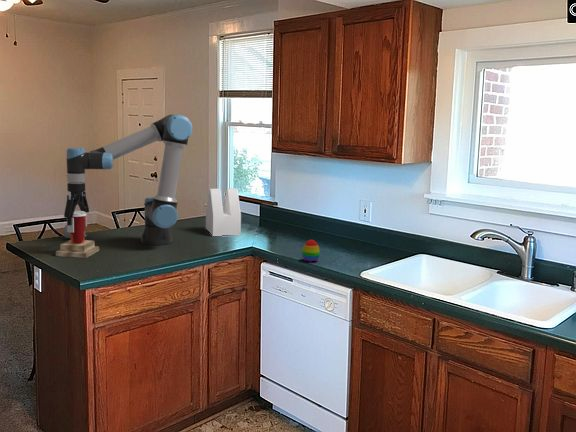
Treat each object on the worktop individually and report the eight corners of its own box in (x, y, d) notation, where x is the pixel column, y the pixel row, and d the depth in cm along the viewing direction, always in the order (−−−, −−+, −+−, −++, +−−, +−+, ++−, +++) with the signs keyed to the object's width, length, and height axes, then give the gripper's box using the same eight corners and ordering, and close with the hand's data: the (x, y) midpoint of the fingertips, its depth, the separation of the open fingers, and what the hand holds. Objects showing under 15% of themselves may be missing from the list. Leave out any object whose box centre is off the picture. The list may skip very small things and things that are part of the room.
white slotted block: (240, 236, 308) (241, 191, 304) (212, 237, 303) (213, 191, 299) (231, 229, 326) (232, 186, 322) (205, 229, 321) (206, 186, 316)
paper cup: (90, 242, 257) (90, 212, 255) (77, 245, 250) (77, 214, 248) (77, 239, 260) (77, 210, 258) (64, 242, 254) (64, 212, 251)
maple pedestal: (99, 250, 262) (98, 240, 261) (86, 257, 249) (86, 246, 248) (70, 248, 263) (69, 238, 262) (55, 256, 249) (55, 245, 249)
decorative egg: (321, 263, 257) (322, 241, 255) (304, 263, 255) (305, 241, 253) (316, 258, 265) (317, 237, 263) (299, 258, 263) (300, 237, 261)
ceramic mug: (75, 241, 279) (75, 226, 278) (62, 239, 282) (62, 224, 281) (90, 237, 289) (90, 223, 288) (78, 236, 292) (78, 221, 291)
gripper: (80, 179, 263) (81, 223, 266) (54, 185, 238) (56, 234, 242) (95, 180, 262) (96, 224, 266) (71, 186, 238) (73, 235, 241)
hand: (77, 229), depth 254 cm, fingers open, 13 cm apart
